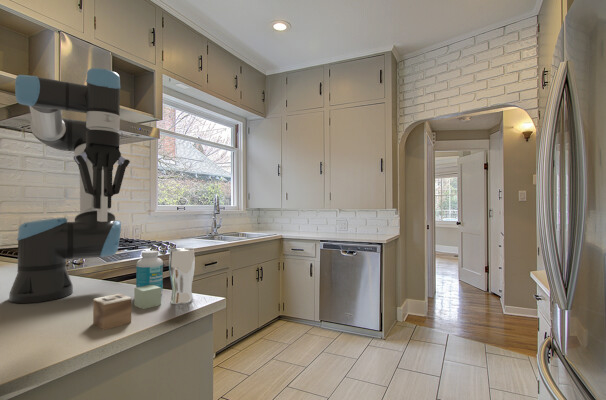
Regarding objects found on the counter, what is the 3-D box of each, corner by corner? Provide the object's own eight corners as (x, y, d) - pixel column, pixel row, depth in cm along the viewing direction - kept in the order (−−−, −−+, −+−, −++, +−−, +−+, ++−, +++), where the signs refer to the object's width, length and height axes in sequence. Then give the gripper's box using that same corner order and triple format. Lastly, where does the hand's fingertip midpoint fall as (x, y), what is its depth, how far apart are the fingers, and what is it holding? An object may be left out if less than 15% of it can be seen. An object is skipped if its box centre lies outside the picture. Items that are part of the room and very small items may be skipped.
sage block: (134, 306, 93) (134, 287, 93) (151, 302, 97) (152, 284, 97) (142, 309, 90) (143, 291, 90) (160, 305, 94) (161, 287, 94)
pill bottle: (152, 300, 99) (152, 253, 99) (130, 298, 100) (130, 252, 100) (167, 293, 106) (168, 250, 106) (146, 291, 107) (147, 249, 108)
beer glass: (183, 296, 102) (183, 247, 102) (199, 300, 98) (199, 248, 99) (163, 302, 96) (163, 250, 96) (180, 306, 92) (180, 251, 92)
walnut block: (104, 303, 76) (103, 330, 76) (131, 297, 80) (131, 323, 80) (93, 298, 79) (93, 324, 79) (120, 293, 84) (119, 317, 84)
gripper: (79, 125, 81) (78, 223, 81) (135, 133, 91) (134, 221, 91) (69, 128, 85) (68, 221, 86) (123, 135, 95) (122, 219, 96)
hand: (102, 221), depth 89 cm, fingers closed
